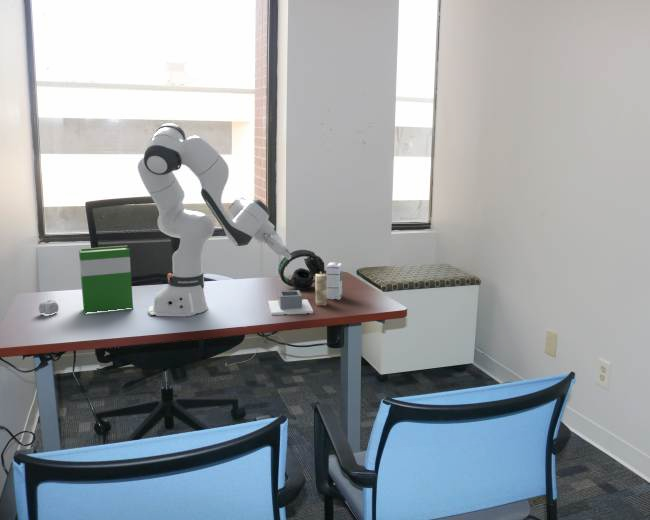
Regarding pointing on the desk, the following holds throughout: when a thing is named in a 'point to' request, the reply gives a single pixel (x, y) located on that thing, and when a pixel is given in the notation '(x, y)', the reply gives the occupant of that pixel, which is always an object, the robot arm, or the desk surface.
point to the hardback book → (106, 278)
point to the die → (48, 307)
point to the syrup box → (334, 280)
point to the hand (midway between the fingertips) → (289, 255)
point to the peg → (320, 289)
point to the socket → (289, 304)
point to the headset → (301, 276)
